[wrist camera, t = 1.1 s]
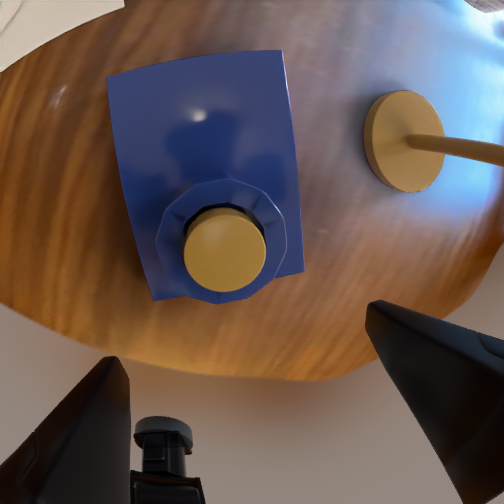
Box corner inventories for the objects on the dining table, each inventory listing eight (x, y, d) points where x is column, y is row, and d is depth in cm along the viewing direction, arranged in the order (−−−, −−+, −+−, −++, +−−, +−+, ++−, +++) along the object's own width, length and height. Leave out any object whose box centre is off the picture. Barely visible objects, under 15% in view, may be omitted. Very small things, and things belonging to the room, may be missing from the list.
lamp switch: (262, 269, 16) (270, 283, 15) (193, 283, 16) (193, 298, 14) (254, 200, 15) (261, 208, 13) (177, 214, 14) (175, 224, 13)
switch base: (294, 259, 21) (315, 284, 17) (156, 285, 19) (149, 317, 16) (272, 59, 15) (292, 40, 12) (115, 84, 14) (95, 70, 10)
